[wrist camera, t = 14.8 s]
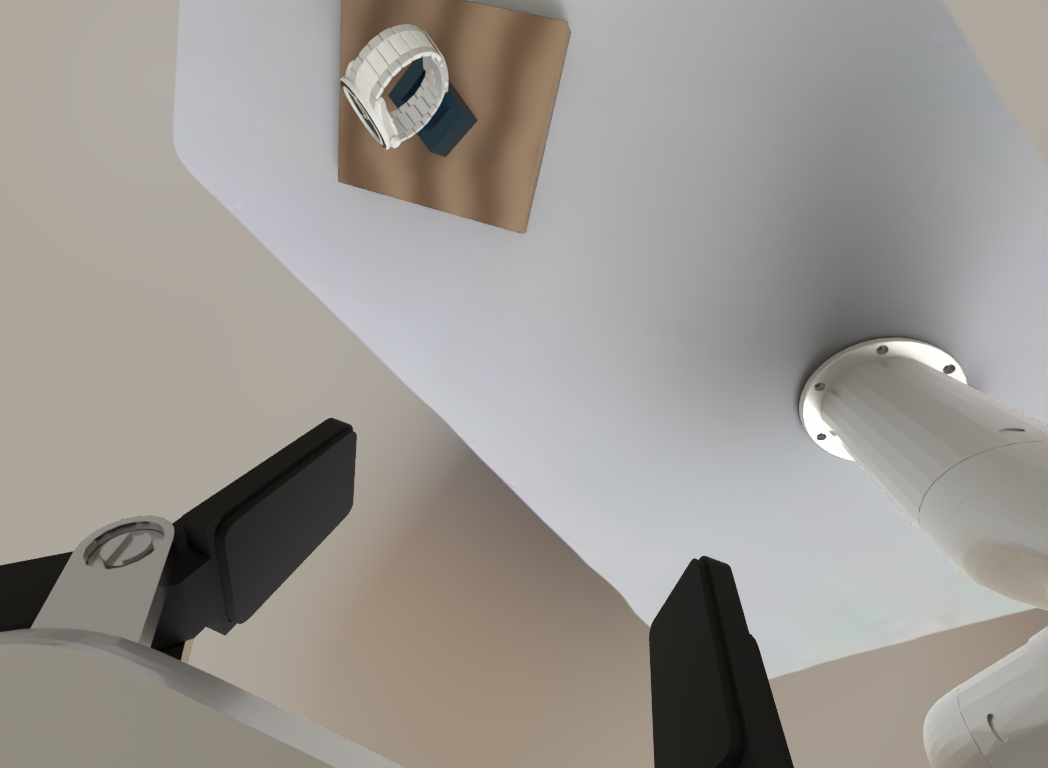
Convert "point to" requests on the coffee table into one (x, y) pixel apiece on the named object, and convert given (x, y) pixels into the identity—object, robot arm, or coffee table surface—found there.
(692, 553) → the coffee table surface
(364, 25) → the walnut board
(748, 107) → the coffee table surface
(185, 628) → the robot arm
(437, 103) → the watch
